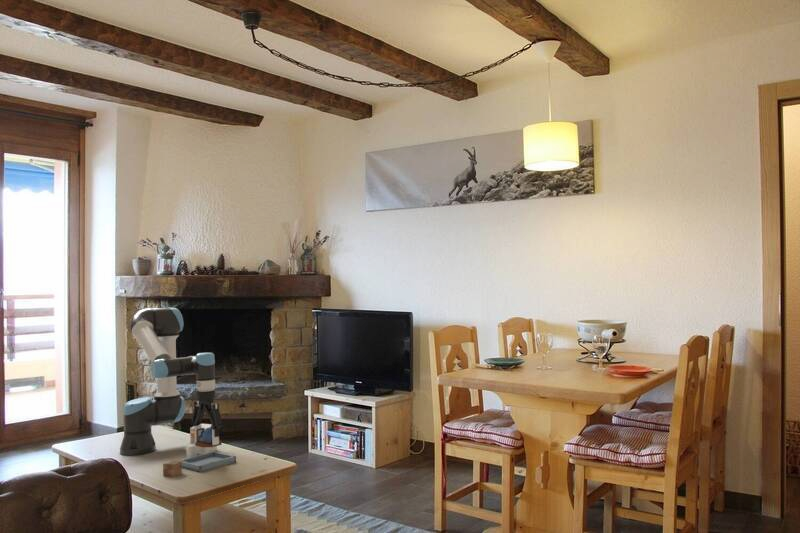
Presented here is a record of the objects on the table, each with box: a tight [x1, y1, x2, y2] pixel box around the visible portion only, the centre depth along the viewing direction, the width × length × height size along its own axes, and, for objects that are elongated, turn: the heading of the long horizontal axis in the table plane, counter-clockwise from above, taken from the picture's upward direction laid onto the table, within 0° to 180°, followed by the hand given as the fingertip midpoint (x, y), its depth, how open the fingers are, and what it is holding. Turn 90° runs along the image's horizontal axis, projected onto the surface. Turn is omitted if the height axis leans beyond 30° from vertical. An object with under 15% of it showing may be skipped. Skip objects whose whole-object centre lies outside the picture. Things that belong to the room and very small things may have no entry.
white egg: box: [186, 444, 198, 459], centre depth 282 cm, size 4×4×6 cm
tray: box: [178, 451, 237, 473], centre depth 274 cm, size 15×18×2 cm
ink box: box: [189, 423, 218, 455], centre depth 295 cm, size 9×8×12 cm
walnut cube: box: [162, 459, 183, 478], centre depth 260 cm, size 5×5×5 cm
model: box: [195, 423, 223, 447], centre depth 275 cm, size 12×9×9 cm
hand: (206, 442), depth 274 cm, fingers closed on model, 11 cm apart
